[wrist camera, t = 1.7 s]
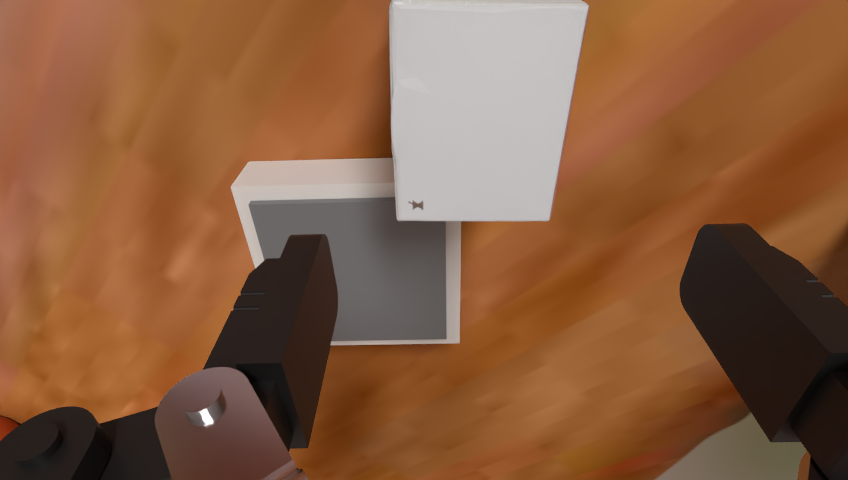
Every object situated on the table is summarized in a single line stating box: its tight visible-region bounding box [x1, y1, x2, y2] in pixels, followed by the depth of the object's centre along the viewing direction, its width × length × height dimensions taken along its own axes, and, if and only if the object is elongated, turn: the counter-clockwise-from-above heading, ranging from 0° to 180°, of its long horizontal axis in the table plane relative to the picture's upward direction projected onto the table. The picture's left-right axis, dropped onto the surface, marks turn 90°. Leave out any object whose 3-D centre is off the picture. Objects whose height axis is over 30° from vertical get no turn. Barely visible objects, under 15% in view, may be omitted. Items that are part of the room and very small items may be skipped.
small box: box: [389, 0, 589, 221], centre depth 22 cm, size 8×6×13 cm
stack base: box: [231, 158, 461, 345], centre depth 34 cm, size 14×14×4 cm
